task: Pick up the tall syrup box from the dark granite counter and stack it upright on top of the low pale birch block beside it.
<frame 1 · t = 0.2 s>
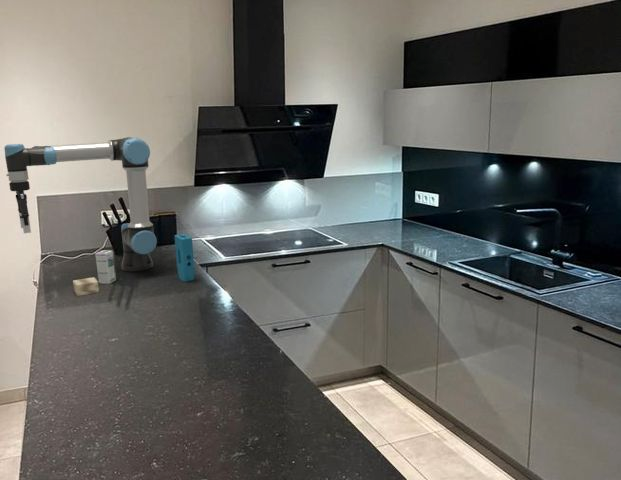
hand: (26, 230, 249), 28 cm above the worktop, tool pointing down, fingers open, 13 cm apart
syrup box: (107, 282, 267), on the worktop
birch block: (86, 292, 253), on the worktop
block: (186, 279, 268), on the worktop
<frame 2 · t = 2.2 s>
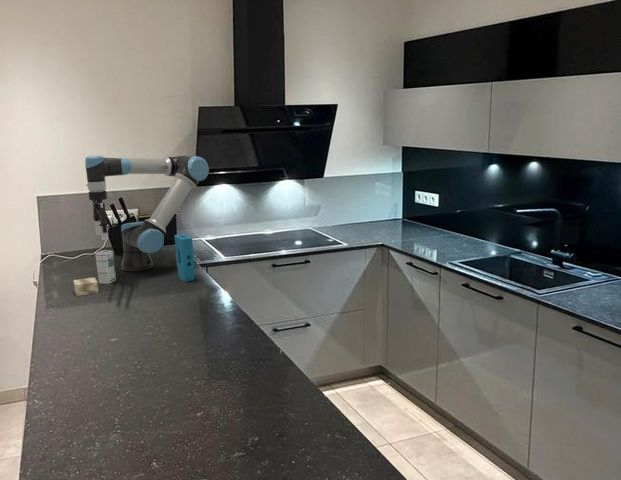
hand: (102, 237, 262), 21 cm above the worktop, tool pointing down, fingers open, 13 cm apart
nothing on the worktop moved.
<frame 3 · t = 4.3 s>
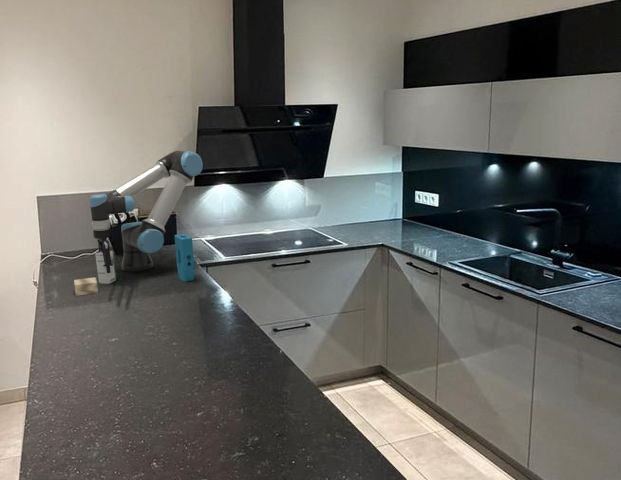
hand: (107, 277, 267), 2 cm above the worktop, tool pointing down, fingers closed on syrup box, 8 cm apart
syrup box: (107, 282, 267), on the worktop, touching gripper
everything else where it was.
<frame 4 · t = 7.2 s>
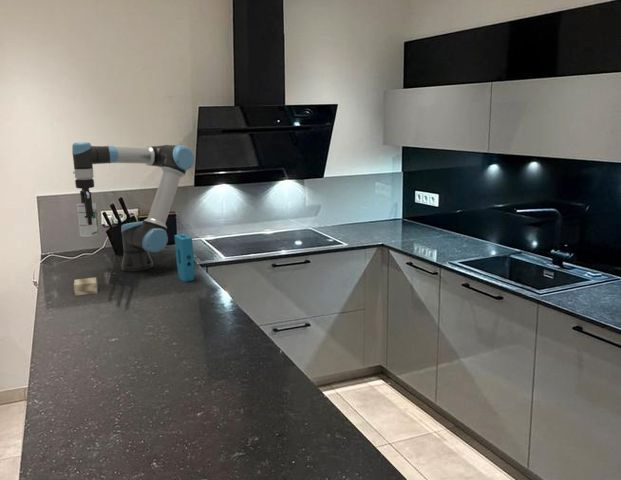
hand: (88, 230, 254), 26 cm above the worktop, tool pointing down, fingers closed on syrup box, 8 cm apart
syrup box: (89, 235, 254), point 24 cm above the worktop, touching gripper
everything else where it was.
when the fingers open (8 cm above the worktop, at t = 10.0 s): syrup box drops 1 cm, resting on birch block.
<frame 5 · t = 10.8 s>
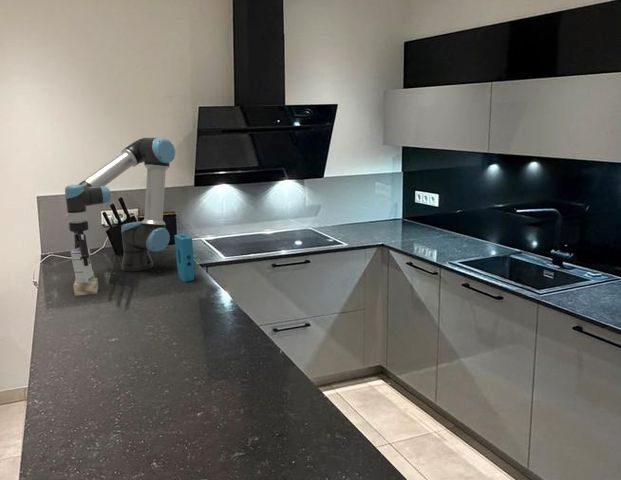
hand: (83, 269, 251), 10 cm above the worktop, tool pointing down, fingers open, 13 cm apart
syrup box: (85, 281, 252), point 5 cm above the worktop, touching birch block
birch block: (86, 292, 253), on the worktop, touching syrup box
everything else where it was.
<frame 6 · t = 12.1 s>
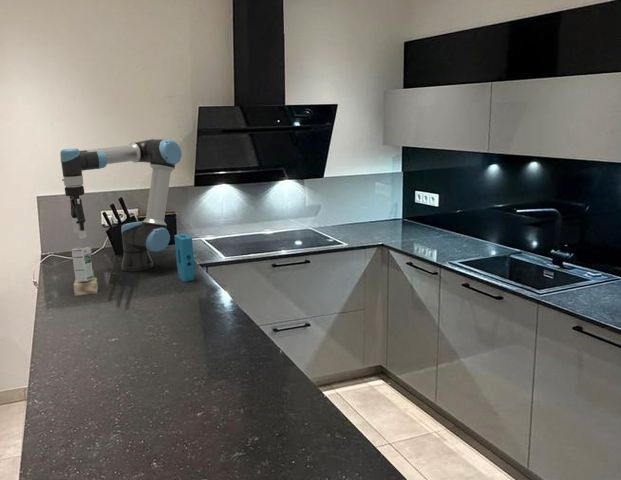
hand: (80, 235, 248), 25 cm above the worktop, tool pointing down, fingers open, 13 cm apart
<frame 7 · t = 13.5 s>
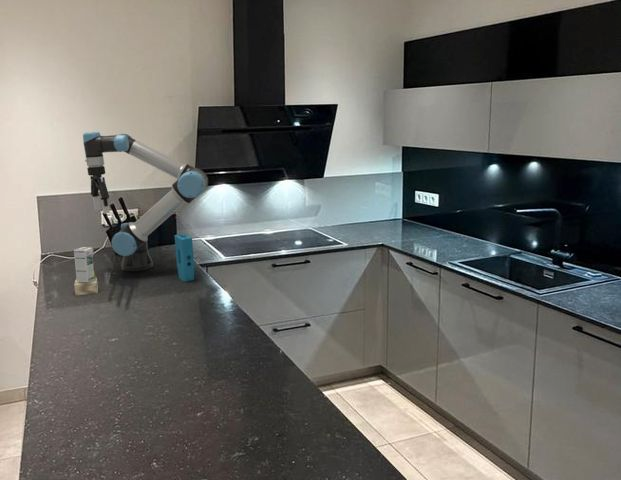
hand: (102, 211, 270), 31 cm above the worktop, tool pointing down, fingers open, 13 cm apart
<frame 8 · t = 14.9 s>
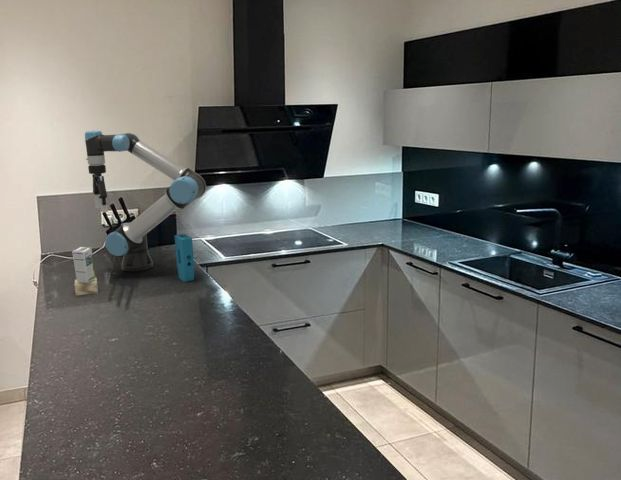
hand: (101, 210, 272), 32 cm above the worktop, tool pointing down, fingers open, 13 cm apart
syrup box: (86, 280, 252), point 5 cm above the worktop
birch block: (87, 292, 254), on the worktop
everything else where it was.
at the end: syrup box 0.3 cm off-centre on the birch block, point 5.1 cm above the birch block's base; syrup box tilted 6°; the gripper is holding nothing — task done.
